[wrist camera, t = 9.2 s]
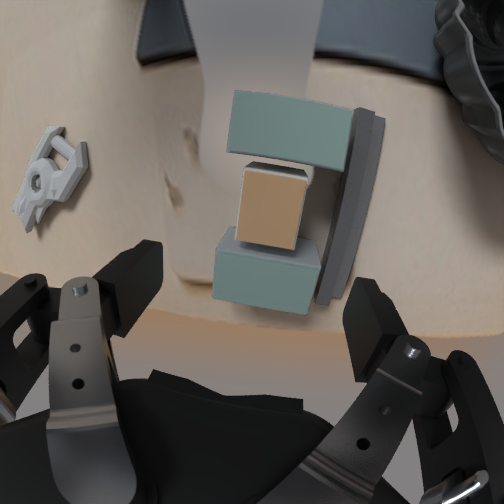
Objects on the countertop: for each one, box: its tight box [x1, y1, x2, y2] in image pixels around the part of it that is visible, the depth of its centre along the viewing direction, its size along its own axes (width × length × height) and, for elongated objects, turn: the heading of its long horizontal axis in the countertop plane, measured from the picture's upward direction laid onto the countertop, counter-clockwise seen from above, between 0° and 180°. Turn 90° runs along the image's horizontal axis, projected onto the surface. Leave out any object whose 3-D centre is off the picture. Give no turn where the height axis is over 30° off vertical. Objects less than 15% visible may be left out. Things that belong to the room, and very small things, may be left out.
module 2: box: [235, 162, 309, 250], centre depth 24 cm, size 6×5×6 cm
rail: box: [314, 107, 385, 306], centre depth 25 cm, size 20×3×2 cm, turn 172°
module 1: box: [226, 90, 354, 172], centre depth 21 cm, size 5×9×6 cm, turn 82°
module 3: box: [212, 226, 321, 315], centre depth 26 cm, size 5×9×6 cm, turn 82°
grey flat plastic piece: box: [13, 126, 88, 233], centre depth 28 cm, size 18×4×10 cm
